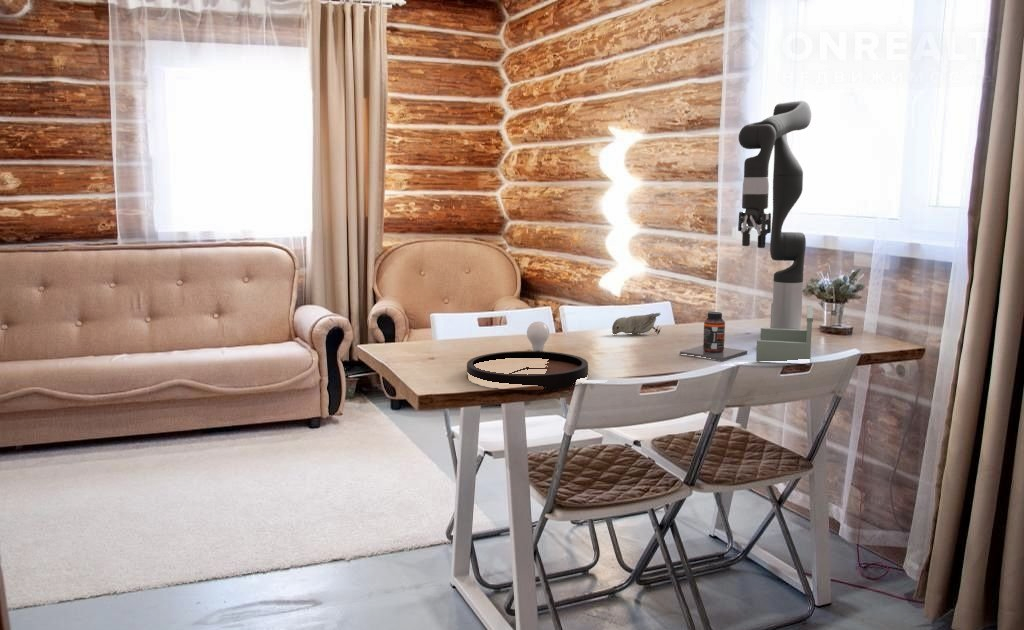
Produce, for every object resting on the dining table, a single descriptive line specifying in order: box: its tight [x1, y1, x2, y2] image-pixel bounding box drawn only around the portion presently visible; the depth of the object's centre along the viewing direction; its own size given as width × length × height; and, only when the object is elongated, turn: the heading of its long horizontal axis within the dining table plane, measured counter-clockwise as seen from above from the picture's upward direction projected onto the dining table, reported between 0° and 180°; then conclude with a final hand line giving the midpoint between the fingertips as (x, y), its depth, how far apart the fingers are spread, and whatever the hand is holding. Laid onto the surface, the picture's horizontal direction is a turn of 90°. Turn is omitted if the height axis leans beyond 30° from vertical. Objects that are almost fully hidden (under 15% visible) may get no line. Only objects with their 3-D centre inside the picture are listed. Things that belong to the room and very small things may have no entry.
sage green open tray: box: [755, 306, 814, 366], centre depth 245 cm, size 14×22×13 cm, turn 161°
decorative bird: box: [611, 312, 661, 335], centre depth 281 cm, size 5×16×8 cm, turn 97°
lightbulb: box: [526, 321, 550, 351], centre depth 242 cm, size 6×6×11 cm
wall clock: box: [466, 350, 589, 391], centre depth 222 cm, size 31×4×31 cm
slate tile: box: [679, 344, 748, 362], centre depth 249 cm, size 14×14×1 cm
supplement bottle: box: [702, 311, 726, 352], centre depth 248 cm, size 6×6×11 cm
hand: (753, 246), depth 259 cm, fingers open, 8 cm apart
